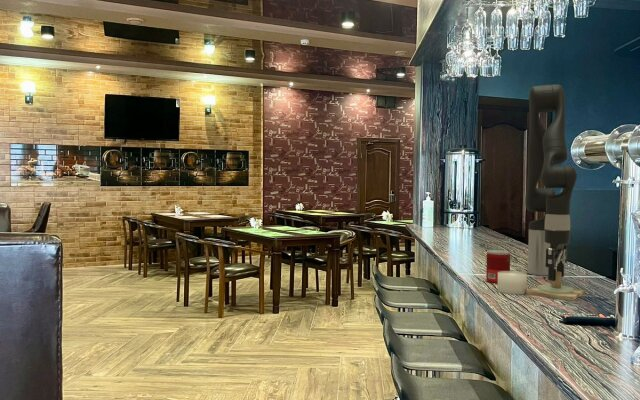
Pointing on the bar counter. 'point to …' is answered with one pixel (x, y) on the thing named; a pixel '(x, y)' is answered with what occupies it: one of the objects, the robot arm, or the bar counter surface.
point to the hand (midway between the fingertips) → (556, 278)
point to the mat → (569, 296)
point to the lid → (556, 286)
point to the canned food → (496, 264)
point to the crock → (512, 282)
